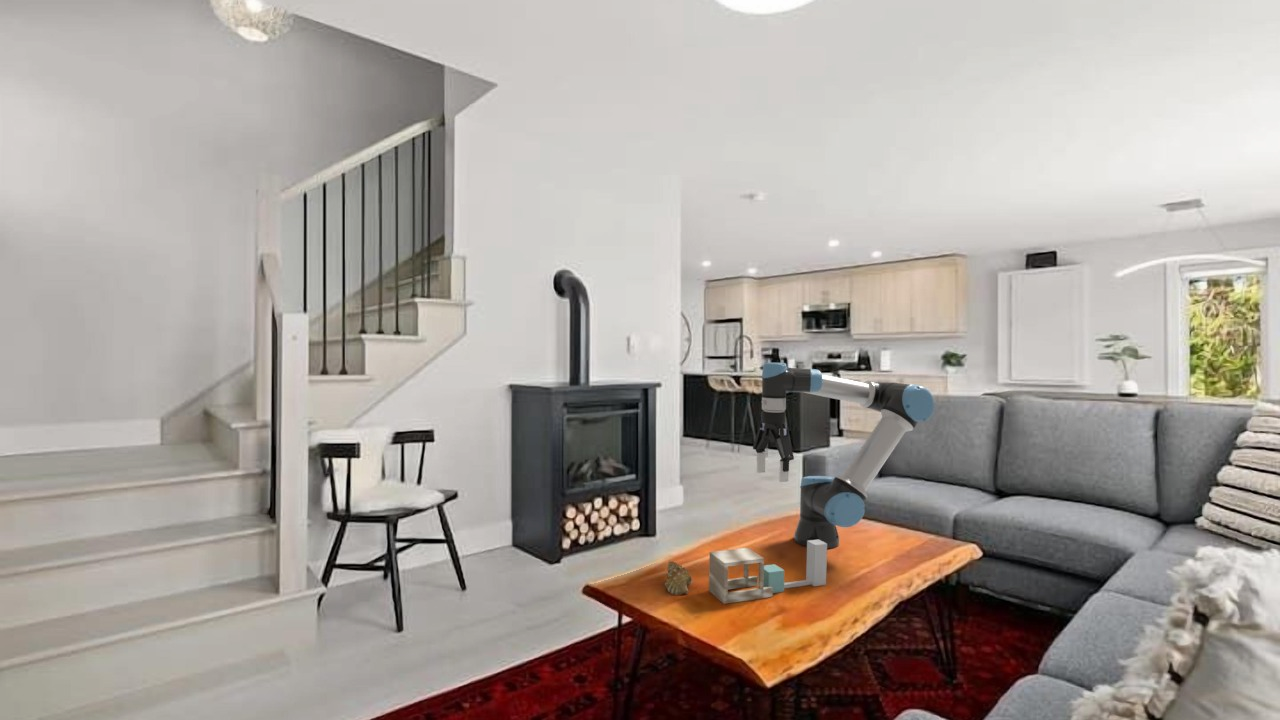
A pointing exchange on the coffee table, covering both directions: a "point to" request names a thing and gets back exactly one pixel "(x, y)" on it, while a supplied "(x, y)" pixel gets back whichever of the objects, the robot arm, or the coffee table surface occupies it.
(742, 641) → the coffee table surface
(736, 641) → the coffee table surface
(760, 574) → the shelf
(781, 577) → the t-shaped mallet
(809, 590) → the coffee table surface
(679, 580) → the seashell
